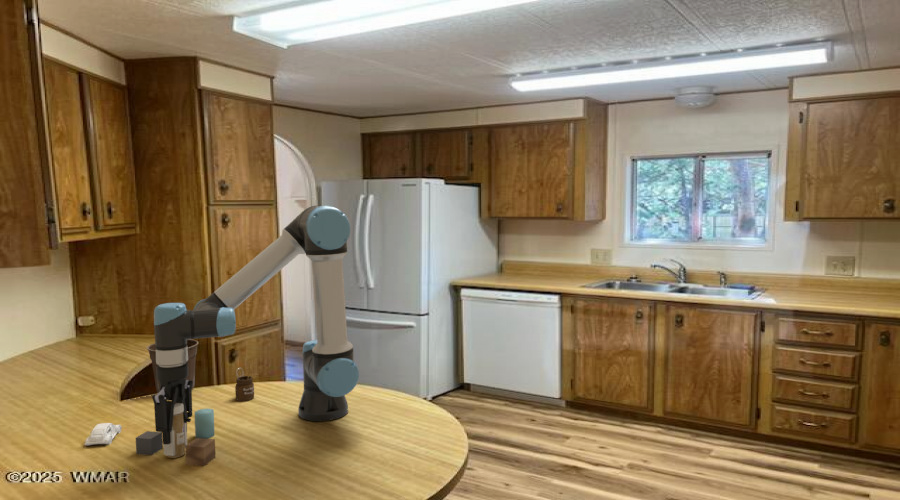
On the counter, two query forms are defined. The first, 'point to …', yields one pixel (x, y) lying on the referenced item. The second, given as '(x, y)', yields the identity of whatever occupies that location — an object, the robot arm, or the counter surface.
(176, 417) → the sprinkles bottle
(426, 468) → the counter surface
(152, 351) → the plant pot
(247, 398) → the utensil holder
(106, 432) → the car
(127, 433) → the counter surface
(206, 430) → the teal cylinder
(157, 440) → the black plastic cube
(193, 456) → the walnut block
